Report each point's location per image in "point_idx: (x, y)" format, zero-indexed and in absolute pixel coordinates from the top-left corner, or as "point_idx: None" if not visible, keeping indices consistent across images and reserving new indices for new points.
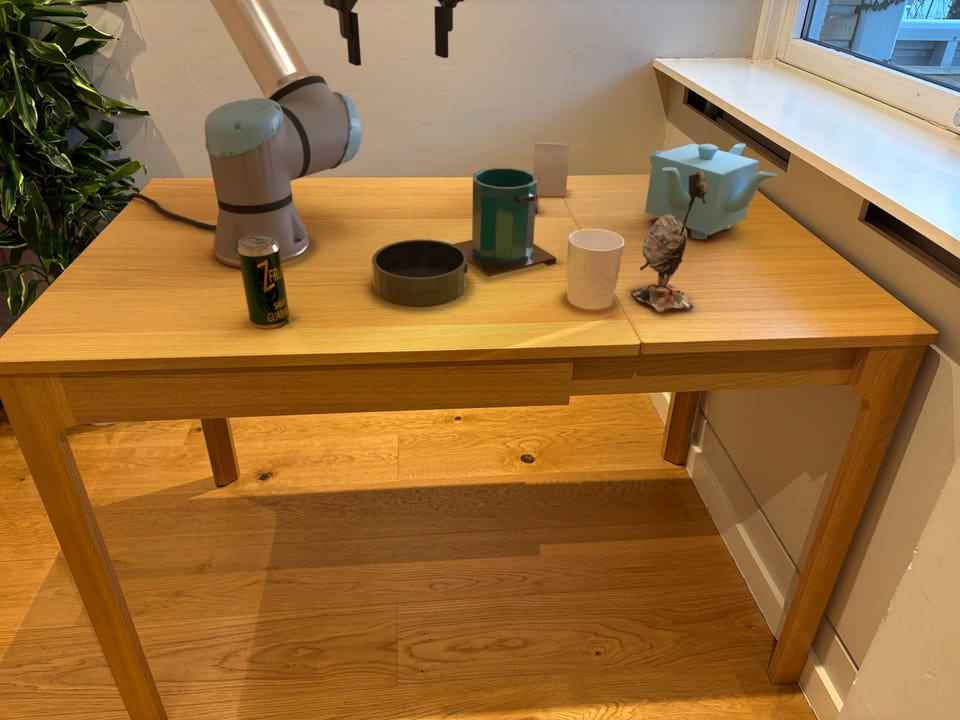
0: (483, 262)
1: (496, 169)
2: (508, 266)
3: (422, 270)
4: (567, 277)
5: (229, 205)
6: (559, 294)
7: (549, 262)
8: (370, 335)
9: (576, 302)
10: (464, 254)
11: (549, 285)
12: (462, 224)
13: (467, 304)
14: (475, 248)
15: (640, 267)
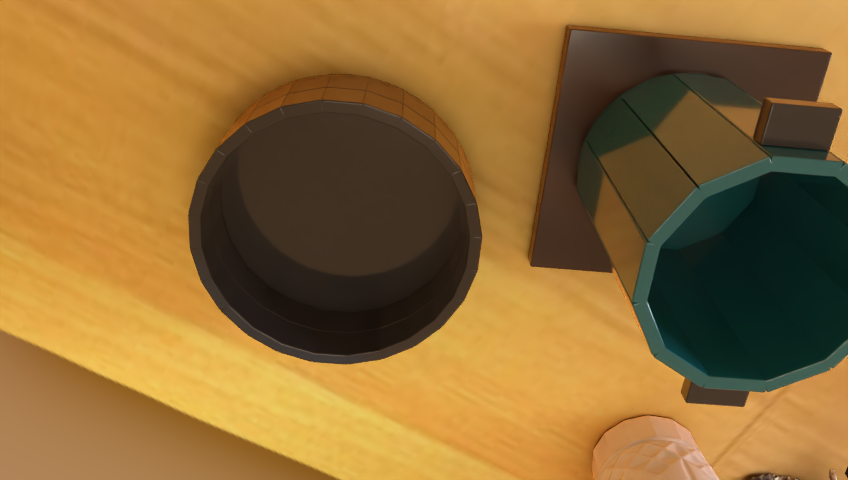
0: (570, 200)
1: (834, 176)
2: None
3: (394, 134)
4: (616, 472)
5: None
6: (617, 400)
7: None
8: (127, 331)
9: (594, 477)
10: (462, 289)
11: (635, 357)
12: None
13: None
14: (584, 164)
15: (832, 476)
